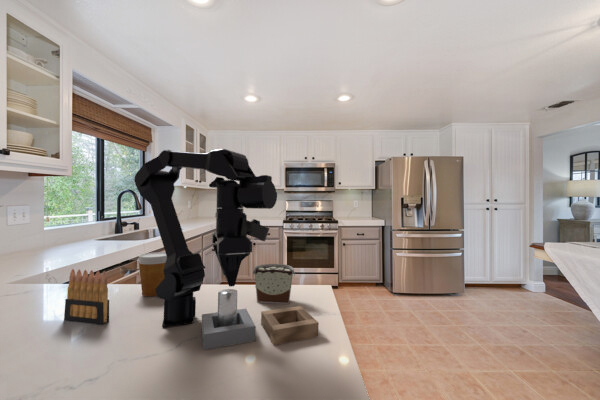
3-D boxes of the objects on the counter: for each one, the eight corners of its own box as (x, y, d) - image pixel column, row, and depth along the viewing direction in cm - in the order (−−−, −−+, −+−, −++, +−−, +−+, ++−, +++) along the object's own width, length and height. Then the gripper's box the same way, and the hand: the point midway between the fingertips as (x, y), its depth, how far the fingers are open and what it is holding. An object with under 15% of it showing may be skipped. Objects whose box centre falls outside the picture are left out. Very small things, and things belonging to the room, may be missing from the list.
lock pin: (218, 339, 54) (219, 295, 55) (216, 331, 58) (217, 290, 58) (237, 336, 56) (238, 293, 56) (234, 328, 60) (235, 288, 60)
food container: (296, 296, 81) (297, 264, 81) (294, 304, 75) (294, 268, 75) (257, 294, 82) (258, 262, 83) (252, 301, 76) (252, 267, 76)
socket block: (203, 350, 50) (203, 334, 50) (201, 327, 60) (201, 314, 60) (255, 340, 54) (255, 326, 54) (245, 321, 63) (246, 308, 63)
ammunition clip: (109, 321, 62) (111, 270, 62) (102, 325, 60) (104, 272, 61) (71, 317, 64) (73, 267, 64) (63, 320, 62) (65, 269, 62)
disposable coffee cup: (158, 286, 89) (159, 251, 89) (177, 291, 84) (178, 253, 85) (129, 294, 80) (130, 255, 81) (148, 300, 76) (149, 258, 76)
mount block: (273, 345, 52) (273, 330, 53) (261, 324, 62) (261, 311, 62) (318, 336, 56) (318, 322, 56) (300, 318, 66) (300, 305, 66)
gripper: (278, 209, 52) (277, 288, 52) (256, 208, 69) (255, 268, 69) (219, 208, 48) (218, 295, 47) (212, 208, 65) (210, 271, 65)
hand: (228, 280), depth 57 cm, fingers open, 9 cm apart
